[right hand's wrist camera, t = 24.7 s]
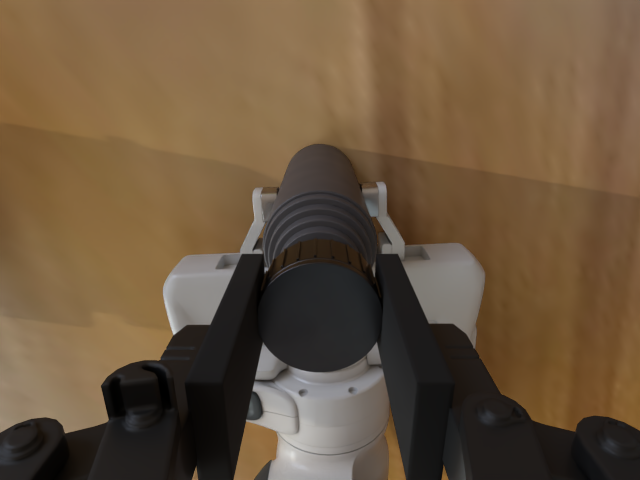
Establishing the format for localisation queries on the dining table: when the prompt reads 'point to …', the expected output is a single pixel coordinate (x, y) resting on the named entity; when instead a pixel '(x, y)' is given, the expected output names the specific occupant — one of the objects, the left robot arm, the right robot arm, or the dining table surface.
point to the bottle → (319, 205)
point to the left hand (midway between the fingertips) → (318, 186)
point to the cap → (319, 306)
